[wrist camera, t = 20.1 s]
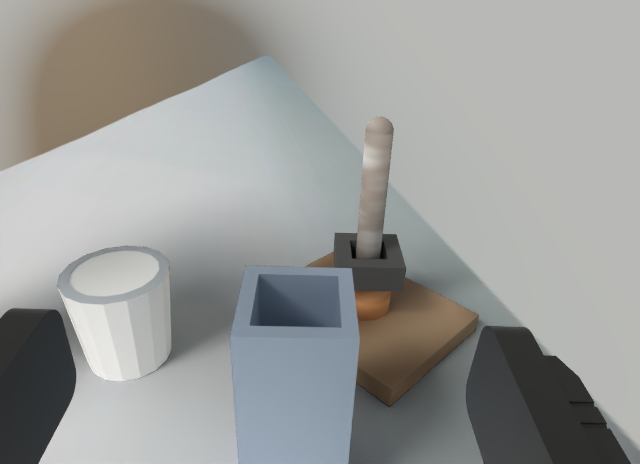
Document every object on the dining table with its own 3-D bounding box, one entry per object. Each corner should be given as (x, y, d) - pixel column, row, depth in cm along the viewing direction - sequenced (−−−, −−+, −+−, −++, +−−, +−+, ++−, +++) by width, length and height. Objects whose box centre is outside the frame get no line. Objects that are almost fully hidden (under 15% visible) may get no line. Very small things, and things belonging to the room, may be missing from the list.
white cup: (87, 403, 32) (63, 316, 29) (72, 339, 37) (51, 258, 34) (193, 366, 35) (182, 283, 32) (165, 311, 40) (154, 235, 37)
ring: (335, 290, 36) (337, 266, 35) (333, 254, 40) (334, 232, 39) (402, 291, 36) (406, 268, 35) (393, 256, 40) (396, 234, 39)
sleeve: (242, 516, 26) (229, 336, 20) (253, 432, 30) (245, 265, 25) (343, 518, 26) (359, 339, 20) (339, 434, 30) (351, 268, 25)
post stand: (252, 308, 41) (244, 108, 33) (343, 259, 48) (354, 85, 40) (389, 406, 32) (423, 169, 24) (475, 330, 39) (523, 126, 31)
